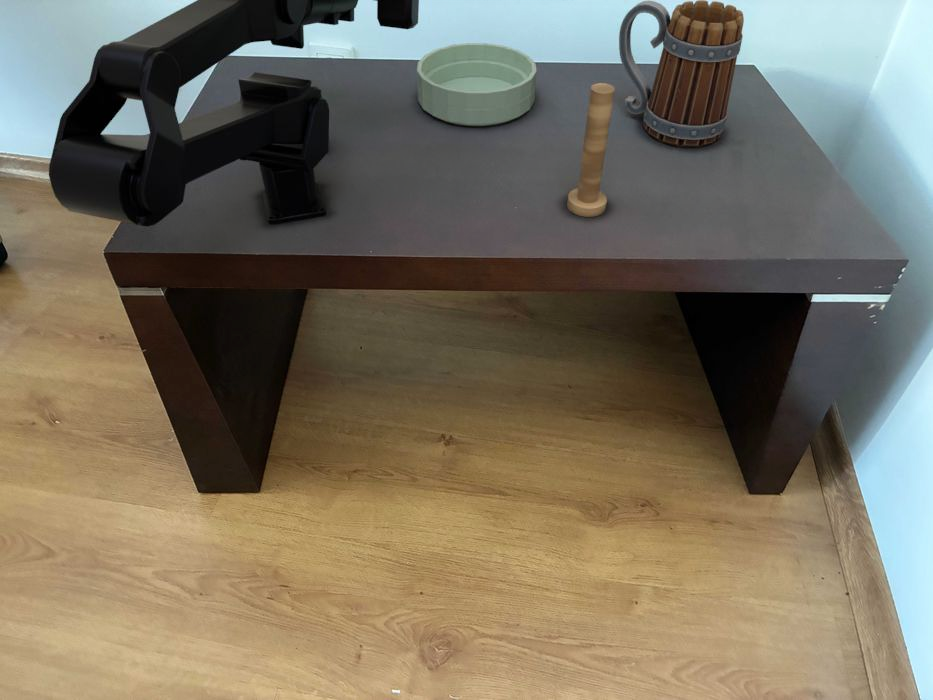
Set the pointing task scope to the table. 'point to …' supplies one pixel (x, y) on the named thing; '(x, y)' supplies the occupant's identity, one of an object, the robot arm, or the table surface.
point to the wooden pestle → (593, 154)
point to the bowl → (476, 83)
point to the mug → (686, 70)
